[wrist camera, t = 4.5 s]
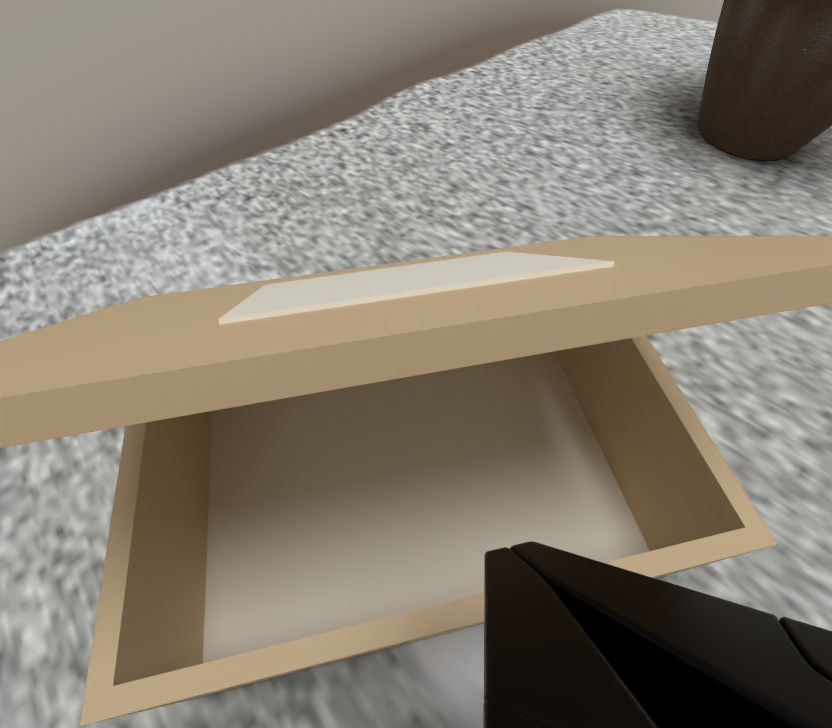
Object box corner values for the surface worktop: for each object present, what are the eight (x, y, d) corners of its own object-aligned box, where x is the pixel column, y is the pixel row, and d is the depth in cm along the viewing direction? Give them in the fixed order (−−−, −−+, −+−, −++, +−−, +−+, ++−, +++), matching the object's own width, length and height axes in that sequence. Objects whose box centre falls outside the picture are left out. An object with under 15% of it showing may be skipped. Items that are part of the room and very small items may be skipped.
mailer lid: (998, 274, 7) (1010, 229, 7) (-313, 502, 5) (-356, 445, 5) (592, 250, 19) (592, 233, 18) (141, 314, 16) (135, 295, 16)
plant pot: (648, 169, 32) (823, -170, 19) (646, 78, 40) (768, -206, 27) (869, 209, 30) (1236, -136, 17) (821, 105, 38) (1046, -186, 25)
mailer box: (668, 574, 17) (777, 544, 12) (189, 699, 15) (79, 726, 10) (552, 335, 24) (592, 251, 19) (204, 394, 21) (142, 314, 16)
